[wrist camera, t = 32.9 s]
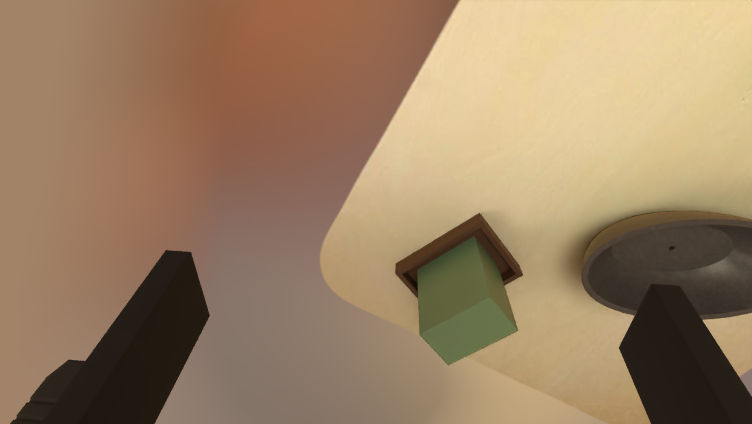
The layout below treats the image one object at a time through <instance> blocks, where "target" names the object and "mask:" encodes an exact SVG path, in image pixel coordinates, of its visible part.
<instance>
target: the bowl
mask: <svg viewBox="0 0 752 424" xmlns="http://www.w3.org/2000/svg"><path fill="white" fill-rule="evenodd" d="M582 283H583V286H584V288H585V290H586V291H587V293H588V294H589V295H590V296H591V297H592V298H593V299H595V300H596V301H597V302H599V303H601V304H603V305H604V306H606V307H609V308H611V309H614V310H616V311H620V312H623V313H627V314H631V315H636V313H637V311H638V309H639V307H640V305H641V303H642V301H643V299H644V297H645V295H646V293H647V291H648V289H649V287H650V285H651V284H662V285H677V286H680V287H681V288H682V290H683V291H684V293H685V294H686V296H687V297H688V299H689V301H690V302H691V304H692V305H693V307H694V308H695V310H696V311H697V313H698V314H699V316H700V318H701V319H702V320H705V319H717V318H726V317H732V316H738V315H743V314H748V313H752V220H751V219H747V218H742V217H737V216H732V215H726V214H719V213H710V212H698V211H668V212H657V213H649V214H643V215H638V216H634V217H631V218H627V219H625V220H622V221H619V222H617V223H615V224H613V225H611V226H609V227H607V228H606V229H604V230H603V231H602V232H600V233H599V234H598V235H597V236H596V237H595V238H594V239H593V240H592V242H591V243H590V245H589V246H588V248H587V250H586V252H585V255H584V258H583V262H582Z"/></svg>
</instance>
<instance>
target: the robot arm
mask: <svg viewBox="0 0 752 424" xmlns="http://www.w3.org/2000/svg"><path fill="white" fill-rule="evenodd" d="M209 316H210V315H209V312H208V308H207V305H206V301H205V298H204V295H203V291H202V288H201V285H200V281H199V278H198V274H197V271H196V268H195V264H194V261H193V258H192V254H191V252H183V251H168V250H166V251H165V252H164V254H163V255H162V256H161V258H160V259H159V260H158V262H157V263H156V265H155V266H154V267H153V269H152V270H151V272H150V273H149V275H148V276H147V277H146V278H145V280H144V281H143V283H142V284H141V285H140V287H139V288H138V289H137V291H136V292H135V294H134V295H133V296H132V298H131V299H130V300H129V302H128V303H127V305H126V306H125V307H124V309H123V310H122V312H121V313H120V314H119V316H118V317H117V318H116V320H115V321H114V323H113V324H112V325H111V327H110V328H109V329H108V331H107V332H106V333H105V335H104V336H103V338H102V339H101V341H100V342H99V343H98V344H97V346H96V347H95V349H94V350H93V352H92V353H91V354H90V356H89V357H88V358H87V360H86V361H77V360H68V361H67V362H66V363H64V364H63V365H61V366H60V367H59V368H58V369H56V370H55V371H54V372H53V373H51V374H50V375H49V376H48V377H46V379H45V380H44V381H43V383H42V384H41V385H40V386H39V388H38V389H37V390H36V391H35V393H34V394H33V395H32V397H31V399H30V402H27V403H26V404H25V406H24V407H23V408H22V409H21V411H20V412H19V413H18V415H17V418H16V419H15V420H13V421H12V422H11V423H10V424H155V422H156V420H157V418H158V416H159V414H160V412H161V410H162V408H163V406H164V404H165V402H166V400H167V398H168V396H169V394H170V392H171V391H172V389H173V387H174V385H175V383H176V381H177V379H178V377H179V375H180V373H181V371H182V369H183V367H184V365H185V363H186V361H187V359H188V357H189V355H190V353H191V351H192V349H193V347H194V346H195V344H196V342H197V340H198V338H199V336H200V334H201V332H202V330H203V327H204V326H205V324H206V322H207V320H208V318H209ZM619 349H620V352H621V354H622V356H623V359H624V361H625V363H626V366H627V368H628V370H629V373H630V375H631V378H632V380H633V382H634V385H635V387H636V389H637V392H638V394H639V396H640V399H641V401H642V403H643V406H644V408H645V411H646V413H647V415H648V418H649V420H650V422H651V424H752V396H751V395H750V393H749V392H748V391H747V389H746V387H745V386H744V384H743V383H742V381H741V379H740V378H739V376H738V375H737V373H736V372H735V370H734V369H733V367H732V365H731V364H730V362H729V361H728V359H727V358H726V356H725V355H724V353H723V352H722V350H721V348H720V347H719V345H718V344H717V342H716V341H715V339H714V338H713V336H712V335H711V333H710V331H709V330H708V328H707V327H706V325H705V324H704V322H703V321H702V319H701V318H700V316H699V314H698V313H697V311H696V310H695V308H694V307H693V305H692V304H691V302H690V301H689V299H688V297H687V296H686V294H685V293H684V291H683V290H682V288H681V287H680V286H677V285H662V284H651V285H650V287H649V289H648V291H647V293H646V295H645V297H644V299H643V301H642V303H641V305H640V307H639V309H638V311H637V313H636V315H635V317H634V319H633V321H632V323H631V325H630V327H629V329H628V331H627V332H626V334H625V336H624V338H623V340H622V342H621V344H620V346H619Z"/></svg>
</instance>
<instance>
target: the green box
mask: <svg viewBox="0 0 752 424" xmlns="http://www.w3.org/2000/svg"><path fill="white" fill-rule="evenodd" d="M417 277H418V305H419V334H420V336H421V337H422V338H423V339H424V340H425V341H426V342H427V343H428V344H429V345H430V346H431V347H432V348H433V350H434V351H435V352H436V353H437V354H438V355H439V356H440V357H441V358H442V359H443V360H444V361H445V362H446V364H447V365H450V364H452V363H454V362H456V361H458V360H460V359H462V358H464V357H466V356H468V355H470V354H472V353H474V352H476V351H478V350H480V349H482V348H484V347H486V346H488V345H490V344H492V343H494V342H497V341H499V340H501V339H503V338H505V337H507V336H509V335H511V334H513V333H515V332H517V331H518V328H517V325H516V322H515V319H514V315H513V312H512V309H511V306H510V303H509V299H508V296H507V293H506V290H505V287H504V284H503V280H502V277H501V274H500V271H499V268H498V265H497V264H496V262H495V261H494V260H493V259H492V257H491V256H490V255H489V253H488V252H487V251H486V250H485V248H484V247H483V246H482V244H481V243H480V242H479V241H478V239H477V238H476V237H475V236H474V237H472V238H470V239H468V240H467V241H465V242H463V243H462V244H460V245H458V246H457V247H455V248H453V249H452V250H450V251H448V252H446V253H445V254H443V255H441V256H440V257H438V258H436V259H435V260H433V261H431V262H429V263H428V264H426V265H424V266H423V267H421V268H419V269H418V270H417Z"/></svg>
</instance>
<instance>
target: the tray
mask: <svg viewBox="0 0 752 424" xmlns="http://www.w3.org/2000/svg"><path fill="white" fill-rule="evenodd" d="M474 236H475V237H476V238H477V239H478V241H479V242H480V243H481V244H482V246H483V247H484V248H485V250H486V251H487V252H488V253H489V255H490V256H491V257H492V259H493V260H494V261H495V262H496V264H497V265H498V268H499V271H500V274H501V277H502V280H503V284H504V285H506V284H508V283H510V282H512V281H513V280H515V279H517V278H519V277H521V276H523V274H522V271H521V268H520V266H519V264H518V263H517V262H516V260H515V259H514V258H513V256H512V255H511V254H510V252H509V251H508V250H507V248H506V247H505V246H504V244H503V243H502V242H501V240H500V239H499V238H498V236H497V235H496V234H495V232H494V231H493V230H492V229H491V227H490V226H489V225H488V223H487V222H486V221H485V219H484V218H483V217H482V215H481V214H480V213H479V214H477V215H475V216H474V217H472V218H470V219H469V220H467V221H466V222H464V223H462V224H461V225H459V226H457V227H456V228H454V229H452V230H451V231H449V232H447V233H446V234H444V235H442V236H441V237H439V238H438V239H436V240H434V241H433V242H431V243H429V244H428V245H426V246H424V247H423V248H421V249H419V250H418V251H416V252H414V253H413V254H411V255H410V256H408V257H406V258H405V259H403V260H401V261H400V262H398V263H396V270H395V274H396V275H397V276H398V277H399V278H400V279H401V280H402V281H403V283H404V284H405V285H406V286H407V287H408V288H409V289H410V290H411V291H412V293H413V294H414V295H415V296H416V297H417V298H418V277H417V270H418V269H419V268H421V267H423V266H424V265H426V264H428V263H429V262H431V261H433V260H435V259H436V258H438V257H440V256H441V255H443V254H445V253H446V252H448V251H450V250H452V249H453V248H455V247H457V246H458V245H460V244H462V243H463V242H465V241H467V240H468V239H470V238H472V237H474Z"/></svg>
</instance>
